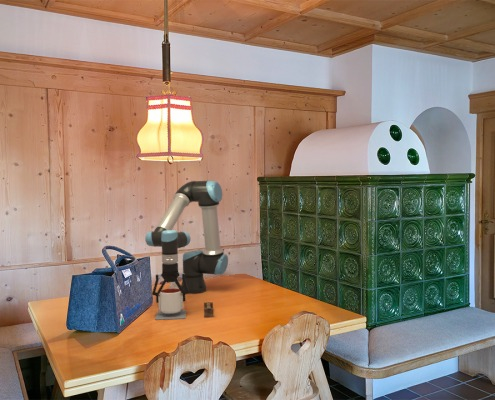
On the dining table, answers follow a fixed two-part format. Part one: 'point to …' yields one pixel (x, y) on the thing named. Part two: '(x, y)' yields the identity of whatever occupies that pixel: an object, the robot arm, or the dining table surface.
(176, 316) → the pad
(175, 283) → the figurine
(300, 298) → the dining table surface
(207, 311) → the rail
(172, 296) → the cup
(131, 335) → the dining table surface
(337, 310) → the dining table surface
